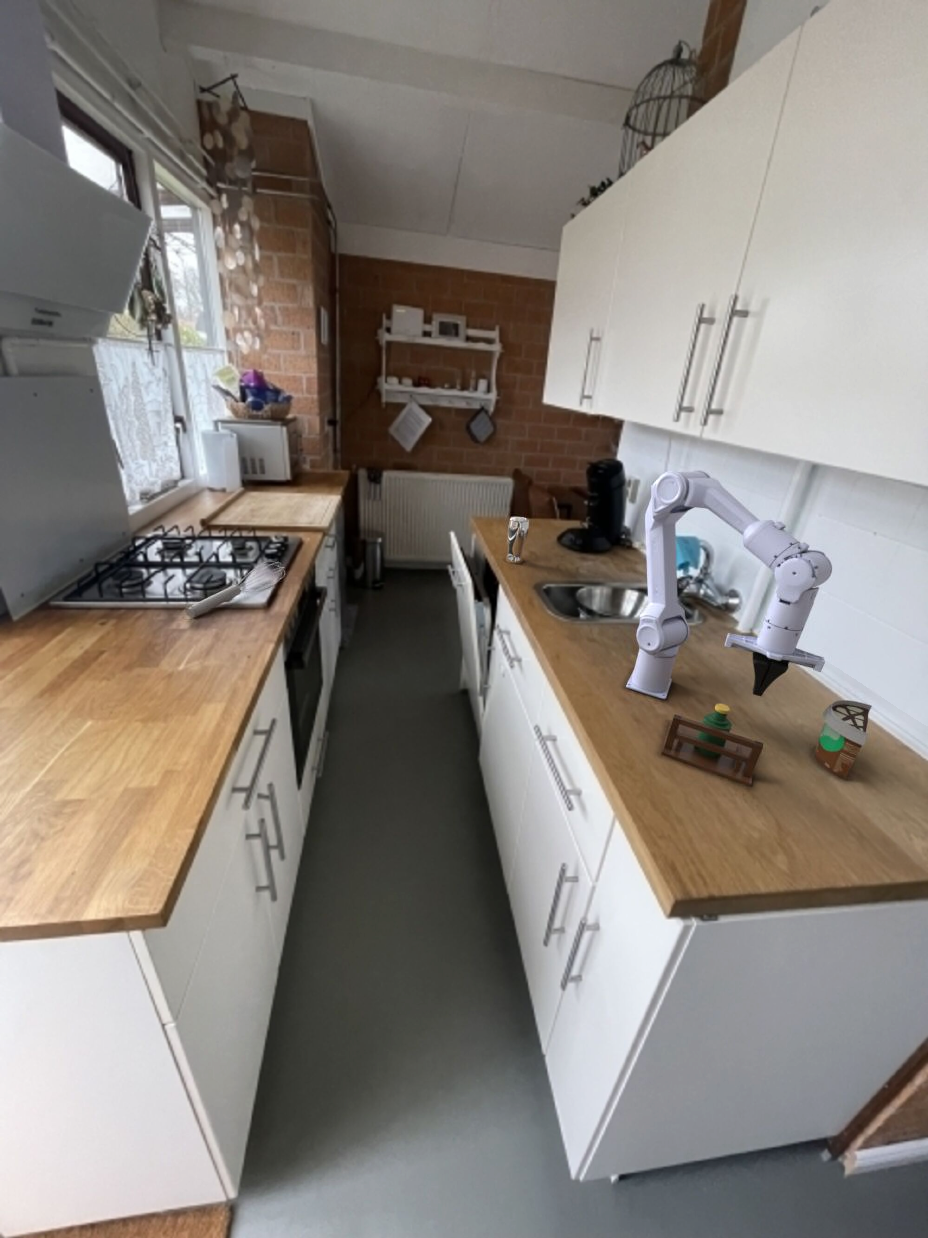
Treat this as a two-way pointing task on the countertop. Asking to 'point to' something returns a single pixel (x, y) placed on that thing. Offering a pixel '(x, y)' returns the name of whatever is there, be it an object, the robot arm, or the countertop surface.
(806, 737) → the countertop surface
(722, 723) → the bottle
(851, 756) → the food container
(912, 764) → the countertop surface
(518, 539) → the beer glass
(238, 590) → the kitchen whisk
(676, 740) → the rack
